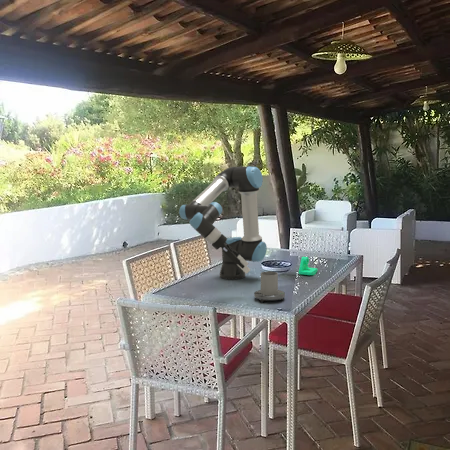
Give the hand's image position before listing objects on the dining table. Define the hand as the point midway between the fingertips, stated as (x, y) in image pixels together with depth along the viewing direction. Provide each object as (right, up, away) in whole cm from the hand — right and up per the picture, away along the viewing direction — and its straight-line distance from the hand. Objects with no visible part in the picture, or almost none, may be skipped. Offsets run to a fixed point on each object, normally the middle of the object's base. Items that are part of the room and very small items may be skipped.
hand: (247, 268), depth 241 cm
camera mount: (+39, -8, +52) cm, 65 cm away
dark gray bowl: (+11, -15, +2) cm, 19 cm away
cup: (+11, -12, +2) cm, 17 cm away
